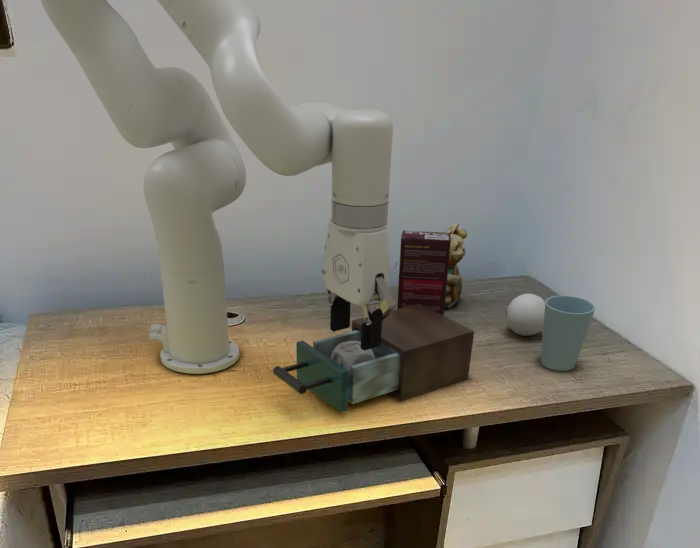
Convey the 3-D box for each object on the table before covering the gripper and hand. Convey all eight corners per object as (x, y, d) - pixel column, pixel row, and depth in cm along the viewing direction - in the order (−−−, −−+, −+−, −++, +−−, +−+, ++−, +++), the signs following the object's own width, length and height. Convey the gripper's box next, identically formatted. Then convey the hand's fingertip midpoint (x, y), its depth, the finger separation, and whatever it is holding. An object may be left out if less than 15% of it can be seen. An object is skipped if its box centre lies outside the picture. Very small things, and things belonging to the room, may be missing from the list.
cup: (590, 364, 122) (604, 304, 116) (566, 379, 117) (579, 317, 112) (551, 350, 126) (562, 291, 121) (525, 363, 122) (536, 303, 116)
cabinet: (401, 400, 110) (404, 351, 105) (350, 367, 118) (351, 320, 114) (468, 378, 116) (474, 331, 112) (415, 348, 125) (419, 303, 121)
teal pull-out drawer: (308, 423, 102) (308, 382, 98) (265, 389, 110) (263, 350, 106) (409, 390, 111) (412, 352, 107) (362, 361, 119) (364, 324, 115)
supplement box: (442, 317, 137) (451, 231, 128) (442, 328, 133) (452, 240, 124) (396, 314, 137) (402, 229, 128) (394, 325, 133) (400, 237, 124)
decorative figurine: (453, 313, 138) (462, 233, 130) (411, 306, 141) (417, 227, 132) (465, 296, 146) (474, 220, 138) (425, 290, 148) (432, 214, 140)
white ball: (553, 339, 130) (561, 299, 126) (518, 345, 128) (525, 305, 123) (520, 318, 138) (527, 280, 134) (487, 323, 135) (492, 285, 131)
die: (375, 380, 111) (376, 349, 108) (348, 389, 108) (349, 358, 105) (355, 367, 114) (356, 337, 111) (329, 375, 111) (329, 345, 109)
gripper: (300, 202, 101) (301, 323, 111) (376, 235, 90) (369, 367, 100) (345, 195, 105) (342, 313, 115) (423, 226, 93) (412, 354, 103)
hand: (354, 337), depth 107 cm, fingers open, 6 cm apart
